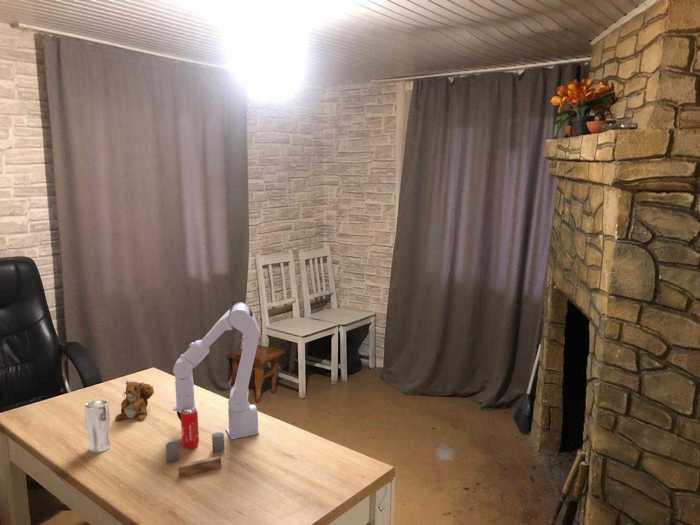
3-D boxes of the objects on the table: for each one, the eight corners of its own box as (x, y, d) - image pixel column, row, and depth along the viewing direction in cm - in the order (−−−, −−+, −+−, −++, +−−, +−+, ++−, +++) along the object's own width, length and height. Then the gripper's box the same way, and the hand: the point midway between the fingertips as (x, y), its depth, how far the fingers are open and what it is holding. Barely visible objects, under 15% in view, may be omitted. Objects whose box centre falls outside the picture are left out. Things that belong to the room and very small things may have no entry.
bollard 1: (177, 455, 169) (177, 440, 168) (179, 461, 166) (178, 446, 165) (165, 458, 168) (164, 443, 167) (167, 463, 164) (166, 448, 163)
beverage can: (194, 450, 172) (192, 414, 170) (179, 448, 173) (177, 413, 171) (201, 441, 177) (200, 407, 175) (187, 440, 178) (185, 406, 176)
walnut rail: (220, 464, 164) (219, 455, 163) (221, 467, 162) (220, 458, 162) (178, 474, 159) (178, 465, 158) (179, 477, 157) (179, 467, 157)
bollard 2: (222, 445, 175) (222, 431, 174) (225, 450, 172) (224, 436, 171) (211, 448, 173) (210, 433, 173) (213, 453, 170) (213, 438, 169)
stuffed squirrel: (113, 422, 191) (110, 386, 188) (134, 404, 204) (131, 371, 202) (139, 423, 189) (137, 388, 187) (159, 406, 203) (156, 372, 201)
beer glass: (116, 445, 175) (113, 401, 172) (98, 455, 169) (94, 410, 166) (101, 440, 178) (97, 397, 175) (83, 450, 172) (78, 406, 169)
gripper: (169, 387, 183) (171, 424, 186) (175, 404, 170) (177, 444, 173) (190, 383, 186) (192, 420, 189) (198, 400, 173) (200, 439, 176)
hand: (187, 431), depth 181 cm, fingers closed
